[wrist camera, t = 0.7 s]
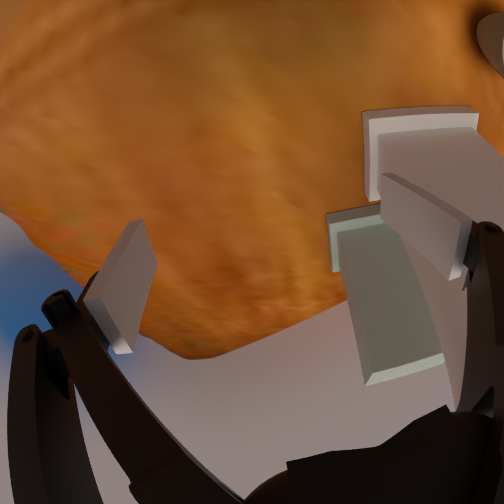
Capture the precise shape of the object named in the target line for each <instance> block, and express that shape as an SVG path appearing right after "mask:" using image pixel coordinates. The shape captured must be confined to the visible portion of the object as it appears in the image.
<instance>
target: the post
mask: <svg viewBox="0 0 504 504" xmlns="http://www.w3.org/2000/svg"><path fill="white" fill-rule="evenodd" d="M380 209H381V203H380V204H375V205H370V206H365V207H359V208H354V209H349V210H344V211H339V212H334V213H329V214H326V217H327V227H328V238H329V250H330V263H331V267H332V271H333V273H334V272H338V271H340V273H341V277H342V281H343V285H344V289H345V293H346V297H347V301H348V305H349V309H350V314H351V318H352V323H353V327H354V332H355V336H356V341H357V346H358V351H359V356H360V361H361V367H362V372H363V378H364V384H365V386H367V385H371V384H376V383H379V382H383V381H387V380H391V379H394V378H398V377H402V376H405V375H408V374H412V373H415V372H418V371H421V370H424V369H427V368H430V367H433V366H436V365H439V364H442V363H445V359H444V355H443V352H442V348H441V345H440V341H439V338H438V334H437V331H436V328H435V325H434V321H433V318H432V315H431V312H430V309H429V306H428V304H427V301H426V298H425V295H424V292H423V290H422V287H421V284H420V282H419V279H418V277H417V274H416V272H415V269H414V267H413V264H412V262H411V260H410V257H409V255H408V252H407V250H406V248H405V246H404V243H403V241H402V239H401V237H400V235H399V234H398V233H397V232H396V231H395V230H394V229H392V228H391V227H390V226H389V225H388V224H387V223H385V222H384V221H383V220H382V219H381V218H380Z"/></svg>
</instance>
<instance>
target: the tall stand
mask: <svg viewBox="0 0 504 504" xmlns="http://www.w3.org/2000/svg"><path fill="white" fill-rule="evenodd" d="M478 117H479V113H478V112H477V111H476V110H474V109H473V108H472V107H471V106H427V107H408V108H395V109H383V110H374V111H365V112H362V118H363V137H364V192H365V194H366V196H367V198H368V201H369V202H371V201H377V200H381V174H382V173H390V172H392V173H394V174H396V175H398V176H400V177H402V178H404V179H405V180H407V181H409V182H411V183H413V184H415V185H417V186H418V187H420V188H422V189H424V190H426V191H427V192H429V193H431V194H433V195H434V196H436V197H438V198H439V199H441V200H443V201H445V202H446V203H448V204H449V205H451V206H453V207H454V208H456V209H457V210H459V211H461V212H462V213H464V214H465V215H467V216H468V217H470V218H471V219H473V221H475V222H476V223H479V222H482V221H488V222H493V223H495V224H496V225H498V226H500V227H501V228H502V230H503V231H504V158H503V157H502V156H501V155H500V154H499V153H498V152H497V151H496V150H495V149H494V148H493V147H492V146H491V145H490V144H489V143H488V142H487V141H486V140H485V139H484V138H483V137H482V136H481V135H480V134H479V133H478V132H477V131H476V130H477V124H478ZM400 237H401V239H402V241H403V243H404V246H405V248H406V250H407V252H408V255H409V257H410V260H411V262H412V264H413V267H414V269H415V272H416V274H417V277H418V279H419V282H420V284H421V287H422V290H423V292H424V295H425V298H426V301H427V304H428V306H429V309H430V312H431V315H432V318H433V321H434V325H435V328H436V331H437V334H438V338H439V341H440V345H441V348H442V352H443V355H444V359H445V363H446V367H447V371H448V375H449V379H450V384H451V389H452V394H453V399H454V404H455V409H457V407H458V404H459V401H460V396H461V389H462V382H463V374H464V365H465V354H466V339H467V287H466V288H465V290H464V291H462V289H463V285H464V282H465V279H466V275H467V272H468V268H467V267H466V266H465V265H464V264H463V268H462V271H461V275H460V277H458V278H455V279H452V280H450V281H448V280H447V279H446V278H445V277H444V276H443V275H442V274H441V273H440V272H439V271H438V270H437V269H436V268H435V267H434V266H433V265H432V264H431V263H430V262H429V261H428V260H427V259H426V258H425V257H424V256H422V255H421V254H420V253H419V252H418V251H417V250H416V249H415V248H414V247H413V246H412V245H411V244H409V243H408V242H407V241H406V240H405V239H404V238H403V237H402V236H400Z"/></svg>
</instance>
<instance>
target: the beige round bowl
mask: <svg viewBox="0 0 504 504" xmlns="http://www.w3.org/2000/svg"><path fill="white" fill-rule="evenodd" d="M476 37H477V41H478V44H479V46H480V48H481V50H482V51H483V53H484V55H485V56H486V58H487V59H488V60H489V62H490V63H491V65H492V66H493V67H494V68H495V70H496V71H497V72H498V73H499V74H500V76H501V77H502V78H503V79H504V12H499V13H494V14H491V15H488V16H486V17H484V18H483V19H481V20H480V21H479V23H478V25H477V28H476Z"/></svg>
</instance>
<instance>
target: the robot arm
mask: <svg viewBox="0 0 504 504" xmlns="http://www.w3.org/2000/svg"><path fill="white" fill-rule="evenodd" d="M380 218H381V219H382V220H383V221H384V222H385V223H387V224H388V225H389V226H390V227H391V228H392V229H394V230H395V231H396V232H397V233H398V234H399V235H400V236H402V237H403V238H404V239H405V240H406V241H407V242H408V243H409V244H411V245H412V246H413V247H414V248H415V249H416V250H417V251H418V252H419V253H420V254H421V255H422V256H424V257H425V258H426V259H427V260H428V261H429V262H430V263H431V264H432V265H433V266H434V267H435V268H436V269H437V270H438V271H439V272H440V273H441V274H442V275H443V276H444V277H445V278H446V279H447V280H448V281H450V280H452V279H455V278H458V277H460V275H461V271H462V268H463V264H464V265H465V266H466V267H467V268H468V272H467V275H466V279H465V282H464V285H463V289H462V291H464V290H465V288H466V287H467V339H466V354H465V365H464V374H463V382H462V389H461V396H460V401H459V404H458V407H457V409H456V411H455V412H450V411H449V409H448V407H447V405H444V406H442V407H440V408H438V409H436V410H434V411H432V412H430V413H429V414H426V415H424V416H423V417H420V418H418V419H416V420H414V421H413V422H411V423H410V424H409V425H407V426H406V427H405V428H404V429H402V430H401V431H400V432H398V433H397V434H396V435H394V436H393V437H392V438H390V439H389V440H387V441H386V442H384V443H383V444H381V445H379V446H377V447H371V448H362V449H352V450H340V451H330V452H326V453H322V454H318V455H314V456H311V457H306V458H302V459H298V460H293V461H288V462H286V464H287V469H288V470H286V471H284V472H281V473H279V474H277V475H275V476H273V477H271V478H270V479H268V480H267V481H265V482H264V483H262V484H261V485H259V486H258V487H257V488H256V489H255V490H254V491H252V492H251V494H250V495H249V496H248V497H247V498H246V499H245V500H243V499H242V498H241V497H240V496H239V495H237V494H236V493H235V492H234V491H232V490H231V489H230V488H229V487H227V486H226V485H225V484H224V483H222V482H221V481H220V480H219V479H218V478H216V477H215V476H214V475H213V474H212V473H211V472H210V471H208V469H206V468H205V467H204V466H203V465H202V464H201V463H200V462H199V461H198V460H197V459H196V458H195V457H194V456H193V455H192V454H191V453H190V452H189V451H188V450H187V449H186V448H185V447H184V446H183V445H182V444H181V443H180V442H179V441H178V440H177V439H176V438H175V437H174V436H173V435H172V434H171V432H170V431H169V430H168V429H167V428H166V427H165V426H164V425H163V424H162V422H161V421H160V420H159V419H158V418H157V417H156V416H155V415H154V413H153V412H152V411H151V410H150V408H149V407H148V406H147V405H146V404H145V402H144V401H143V400H142V399H141V397H140V396H139V395H138V394H137V392H136V391H135V390H134V389H133V387H132V386H131V384H130V383H129V382H128V380H127V379H126V378H125V376H124V375H123V374H122V372H121V371H120V369H119V368H118V367H117V365H116V364H115V362H114V361H113V360H112V358H111V357H110V355H109V354H108V352H107V351H108V348H109V345H111V347H112V348H113V350H114V351H115V352H116V354H123V353H133V350H134V346H135V342H136V338H137V334H138V330H139V327H140V323H141V319H142V315H143V312H144V308H145V305H146V301H147V298H148V294H149V291H150V287H151V284H152V281H153V277H154V274H155V271H156V268H157V265H158V261H157V259H156V256H155V253H154V251H153V248H152V245H151V242H150V240H149V237H148V234H147V231H146V228H145V225H144V222H143V219H139V220H135V221H131V222H129V223H128V225H127V226H126V228H125V230H124V231H123V233H122V234H121V236H120V237H119V239H118V240H117V242H116V244H115V245H114V247H113V248H112V250H111V252H110V253H109V255H108V257H107V258H106V260H105V262H104V263H103V265H102V267H101V268H100V270H99V271H97V272H96V273H95V274H94V275H93V276H92V277H91V278H90V279H89V281H88V283H87V284H86V287H85V288H84V290H83V293H81V295H80V297H79V298H78V300H77V302H75V301H74V299H73V297H72V295H71V294H70V292H69V291H68V290H60V291H57V292H55V293H53V294H52V295H51V296H49V297H48V298H47V299H46V300H45V301H44V303H43V304H42V306H41V310H42V312H43V314H44V315H45V317H46V318H47V320H48V321H49V323H50V324H51V326H52V327H53V329H50V330H48V331H45V332H43V333H42V332H41V330H40V329H39V327H38V326H37V325H35V324H31V325H28V326H26V327H24V328H23V329H22V330H20V332H19V334H18V335H17V337H16V339H15V343H14V349H13V356H12V363H11V371H10V380H9V392H8V410H7V436H8V437H7V440H8V458H9V469H10V478H11V486H12V492H13V498H14V503H15V504H104V503H103V501H102V498H101V495H100V493H99V490H98V487H97V484H96V481H95V478H94V475H93V471H92V468H91V465H90V461H89V457H88V454H87V450H86V446H85V442H84V438H83V433H82V428H81V424H80V419H79V413H78V408H77V402H76V396H75V389H74V384H75V386H76V388H77V390H78V392H79V395H80V397H81V398H82V401H83V403H84V405H85V407H86V409H87V411H88V412H89V414H90V416H91V418H92V420H93V422H94V424H95V425H96V427H97V429H98V431H99V433H100V434H101V436H102V437H103V439H104V441H105V443H106V444H107V446H108V447H109V449H110V450H111V452H112V454H113V455H114V457H115V458H116V460H117V461H118V463H119V464H120V466H121V467H122V469H123V470H124V472H125V473H126V475H127V476H128V477H129V479H130V481H131V483H130V485H129V489H130V492H131V493H132V495H133V497H134V498H135V500H136V501H137V502H138V503H139V504H504V231H503V230H502V228H501V227H500V226H498V225H496V224H495V223H493V222H488V221H482V222H479V223H476V222H475V221H473V219H471V218H470V217H468V216H467V215H465V214H464V213H462V212H461V211H459V210H457V209H456V208H454V207H453V206H451V205H449V204H448V203H446V202H445V201H443V200H441V199H439V198H438V197H436V196H434V195H433V194H431V193H429V192H427V191H426V190H424V189H422V188H420V187H418V186H417V185H415V184H413V183H411V182H409V181H407V180H405V179H404V178H402V177H400V176H398V175H396V174H394V173H392V172H390V173H382V174H381V209H380Z"/></svg>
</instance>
